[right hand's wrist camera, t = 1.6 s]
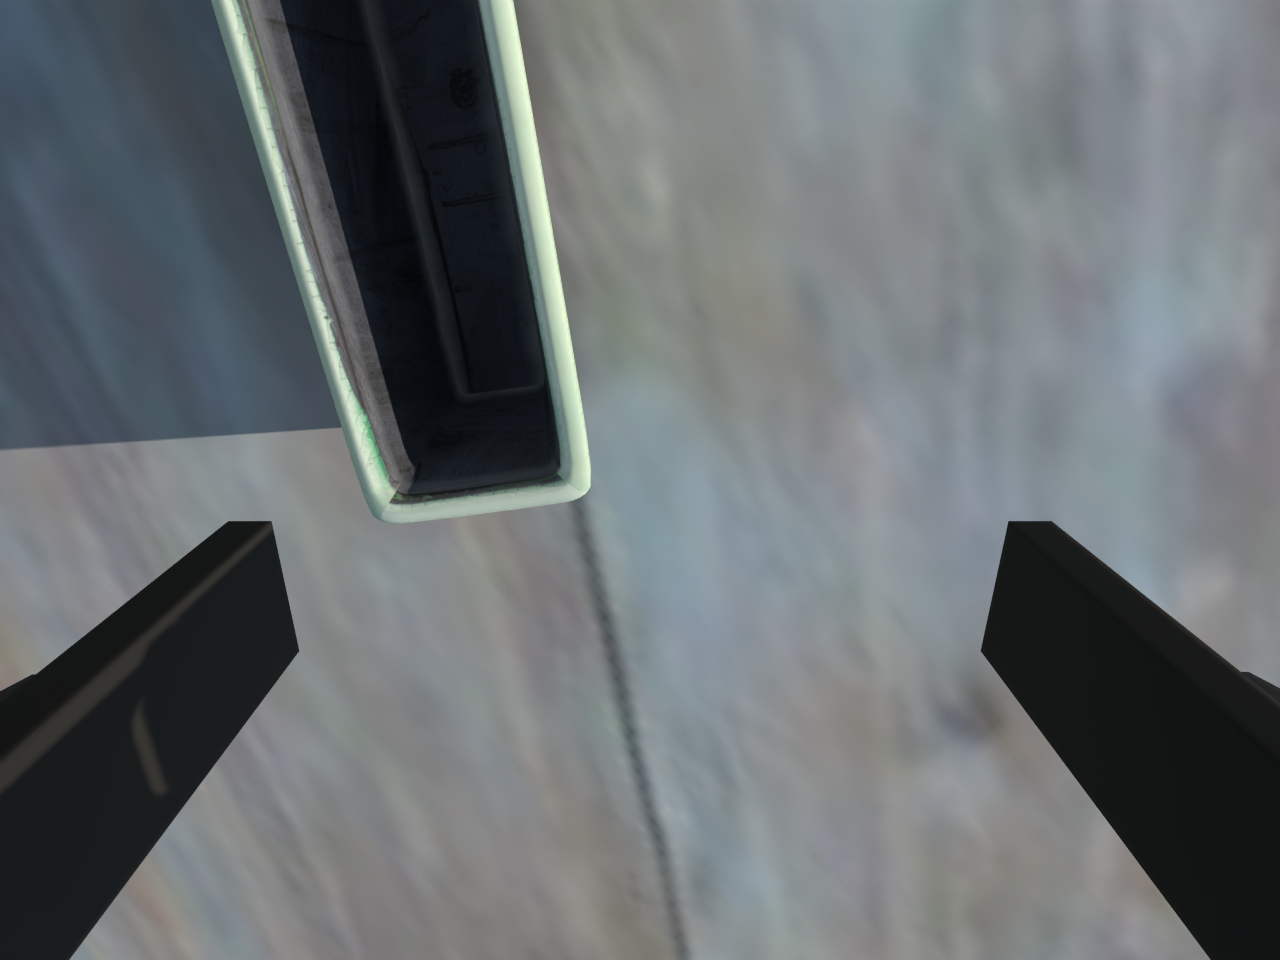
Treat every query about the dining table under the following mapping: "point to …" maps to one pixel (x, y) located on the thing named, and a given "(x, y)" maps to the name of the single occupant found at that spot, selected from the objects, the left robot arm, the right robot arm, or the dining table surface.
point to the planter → (419, 244)
